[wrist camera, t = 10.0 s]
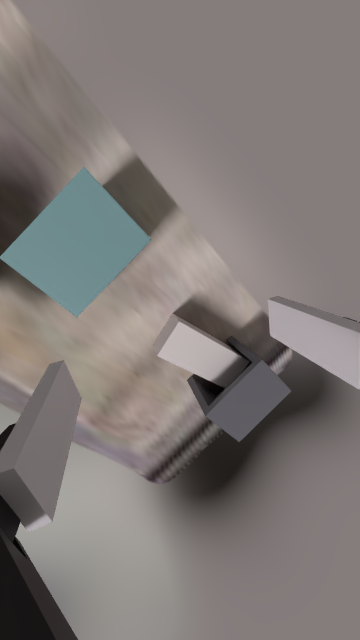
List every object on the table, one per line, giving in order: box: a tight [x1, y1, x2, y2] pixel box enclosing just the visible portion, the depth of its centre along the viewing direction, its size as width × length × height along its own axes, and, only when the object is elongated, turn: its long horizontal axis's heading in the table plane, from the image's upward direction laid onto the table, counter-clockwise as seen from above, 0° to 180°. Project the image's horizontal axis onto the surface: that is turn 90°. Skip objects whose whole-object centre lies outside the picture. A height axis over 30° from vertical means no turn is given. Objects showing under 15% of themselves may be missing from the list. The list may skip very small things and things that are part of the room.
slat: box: [153, 313, 250, 389], centre depth 31 cm, size 12×5×4 cm, turn 57°
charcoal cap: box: [187, 336, 291, 442], centre depth 31 cm, size 7×9×8 cm
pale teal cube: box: [0, 167, 151, 317], centre depth 22 cm, size 7×9×8 cm
